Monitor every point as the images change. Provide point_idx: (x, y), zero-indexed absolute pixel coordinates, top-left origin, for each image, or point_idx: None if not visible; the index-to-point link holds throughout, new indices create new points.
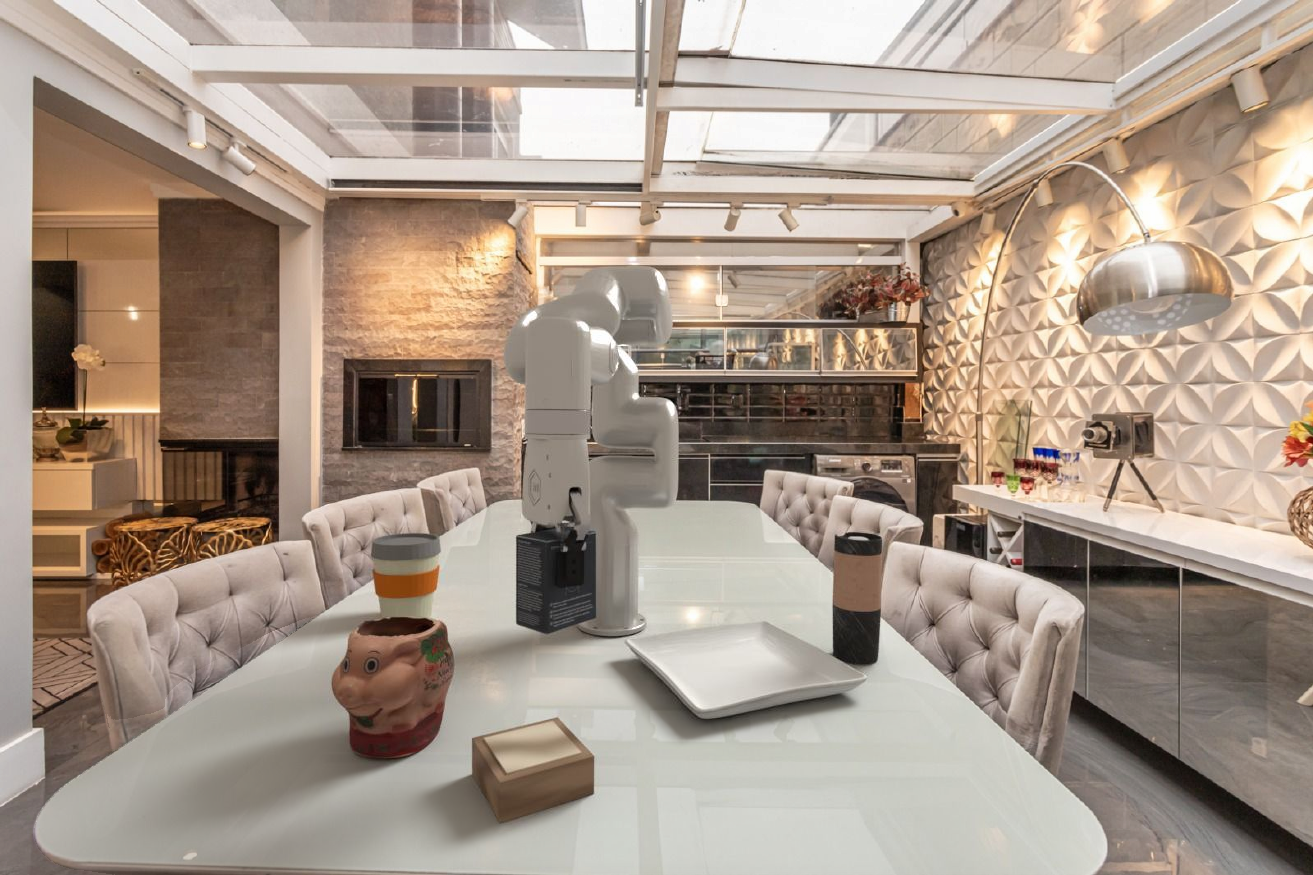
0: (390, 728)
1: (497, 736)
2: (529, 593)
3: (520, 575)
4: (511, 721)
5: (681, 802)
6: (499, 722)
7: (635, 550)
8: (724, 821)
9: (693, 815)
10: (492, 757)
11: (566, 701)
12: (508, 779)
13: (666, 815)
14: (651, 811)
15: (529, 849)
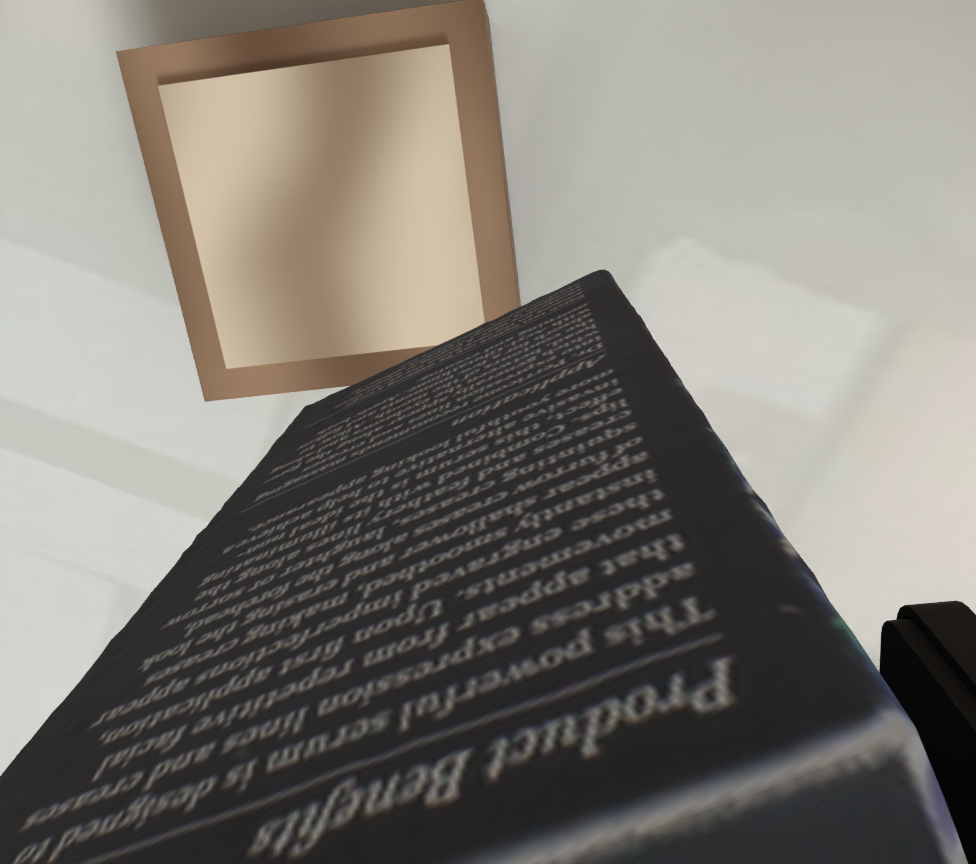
0: None
1: (441, 103)
2: (423, 416)
3: (568, 407)
4: (812, 234)
5: (146, 556)
6: (828, 188)
7: None
8: (47, 609)
9: (86, 559)
10: (297, 55)
11: (865, 464)
12: (130, 85)
13: (101, 502)
14: (127, 476)
15: (39, 124)
